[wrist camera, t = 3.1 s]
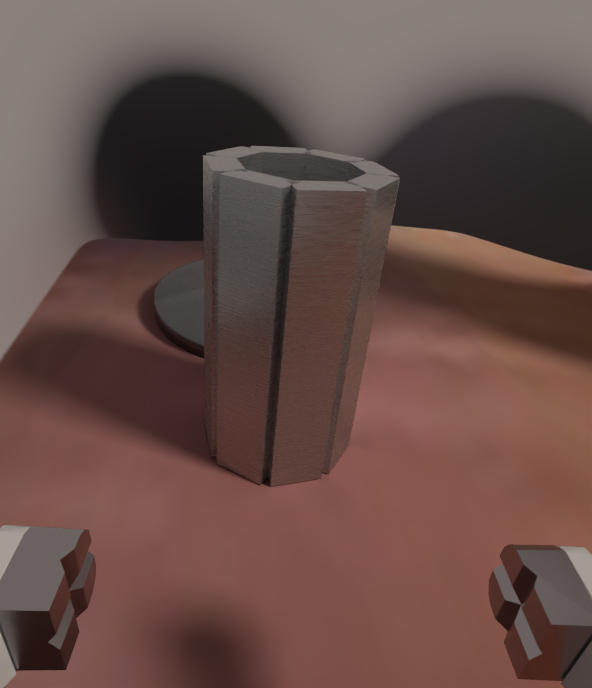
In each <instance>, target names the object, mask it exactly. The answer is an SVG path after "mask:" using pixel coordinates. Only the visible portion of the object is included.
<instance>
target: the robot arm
mask: <svg viewBox="0 0 592 688" xmlns="http://www.w3.org/2000/svg"><path fill="white" fill-rule="evenodd" d="M90 544H91V537H90V533H89V530H85V529H68V528H51V527H34V526H14V525H3V526H2V527H1V528H0V688H4V687H5V686H6V684H7V683H8V682H9V681H10V680H11V679H12V678H13V677H14V676H15V675H16V671H20V670H66V669H67V666H68V663H69V660H70V657H71V654H72V651H73V648H74V646H75V643H76V640H77V637H78V634H79V629H78V624H77V620H76V618H77V617H78V616H79V615H80V614H81V613H82V612H84V611H85V610H86V609H87V608H88V605H89V602H90V599H91V596H92V593H93V587H94V582H95V577H96V563H95V557H94V555H92V554H91V553H90V552H89V551H88V549H89V546H90ZM500 558H501V560H502V562H503V564H501V565H500V566H498V567H497V568H495V569H494V570H493V571H492V574H491V576H490V579H489V599H490V604H491V608H492V611H493V614H494V616H495V619H496V620H497V621H498V622H499V623H500V624H501V625H502V626H503V627H504V628H505V629H506V630H507V634H506V637H505V640H504V644H505V646H506V649H507V652H508V654H509V657H510V660H511V662H512V665H513V668H514V670H515V673H516V676H517V678H518V679H530V680H550V681H562V683H561V684H562V685H563V686H564V688H592V555H591V554H590V552H589V551H587V550H586V549H585V548H584V547H569V546H555V545H514V544H509V545H507V546H505V547H504V548H503V550H502V552H501V554H500Z"/></svg>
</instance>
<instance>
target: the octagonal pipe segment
mask: <svg viewBox="0 0 592 688" xmlns="http://www.w3.org/2000/svg"><path fill="white" fill-rule="evenodd" d="M399 180H400V179H399V175H397V174H395V173H393V172H392V171H389V170H388V169H386V168H384V167H382V166H381V165H379V164H377V163H375V162H373V161H365V159H363V158H357V157H352V156H347V155H341V154H337V153H331V152H326V151H321V150H310V151H308V150H306V149H305V148H290V147H266V146H251V148H248V147H242V146H241V147H236V148H231V149H225V150H221V151H216V152H210V153H206V156H203V186H204V187H203V190H204V191H203V193H204V196H203V202H204V372H205V428H206V433H207V438H208V443H209V447H210V452H211V457H217V464H219V465H221V466H223V467H225V468H227V469H229V470H231V471H233V472H235V473H237V474H239V475H241V476H243V477H245V478H247V479H249V480H251V481H253V482H255V483H257V484H259V485H261V484H262V483H263V481H264V480H265V479H266V478H267V477H268V480H269V483H270V486H277V485H283V484H290V483H296V482H302V481H309V480H315V479H321V476H322V472H324V473H326V474H329V473H330V471H331V470H332V469H333V467H334V466H335V464H336V463H337V461H338V460H339V458H340V457H341V456H342V454H343V453H344V451H345V450H346V448H347V447H348V445H349V442H350V436H351V431H352V426H353V421H354V415H355V410H356V405H357V400H358V395H359V389H360V384H361V379H362V374H363V368H364V363H365V358H366V353H367V347H368V342H369V337H370V332H371V327H372V321H373V316H374V311H375V306H376V300H377V295H378V290H379V285H380V280H381V274H382V269H383V264H384V259H385V253H386V248H387V243H388V238H389V232H390V227H391V222H392V217H393V212H394V206H395V201H396V196H397V191H398V185H399Z"/></svg>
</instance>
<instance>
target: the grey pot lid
mask: <svg viewBox="0 0 592 688" xmlns="http://www.w3.org/2000/svg"><path fill="white" fill-rule="evenodd" d="M154 303H155V318H156V321H157V324H158V326H159V328H160V329H161V331H162V332H163V333H164V334H165V335H166V336H167V337H168V338H169V339H170V340H171V341H172V342H174V343H175V344H177V345H178V346H180V347H181V348H183V349H185V350H187V351H189V352H191V353H193V354H196V355H198V356H200V357H203V358H204V259H203V260H199V261H195V262H192V263H189V264H186V265H184V266H181V267H179V268H177V269H175V270H173V271H172V272H170V273H169V274H167V275H166V276H165V277H164V278H163V279H162V280H161V281H160V282H159V283H158V285H157V287H156V288H155V293H154Z"/></svg>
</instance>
